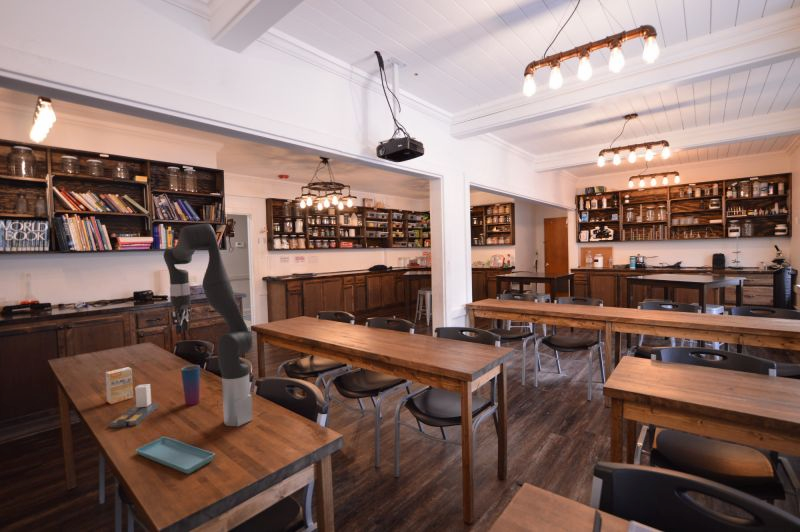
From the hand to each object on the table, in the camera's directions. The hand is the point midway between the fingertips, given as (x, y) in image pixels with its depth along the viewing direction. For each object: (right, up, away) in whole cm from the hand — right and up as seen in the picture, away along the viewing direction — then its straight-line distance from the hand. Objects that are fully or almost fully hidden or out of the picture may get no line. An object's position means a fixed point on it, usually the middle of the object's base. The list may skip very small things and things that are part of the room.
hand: (182, 332), depth 165 cm
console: (-6, -29, -20) cm, 36 cm away
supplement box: (-24, -29, -4) cm, 38 cm away
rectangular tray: (+26, -30, -49) cm, 63 cm away
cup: (+9, -28, -9) cm, 31 cm away
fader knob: (-7, -27, -14) cm, 31 cm away
